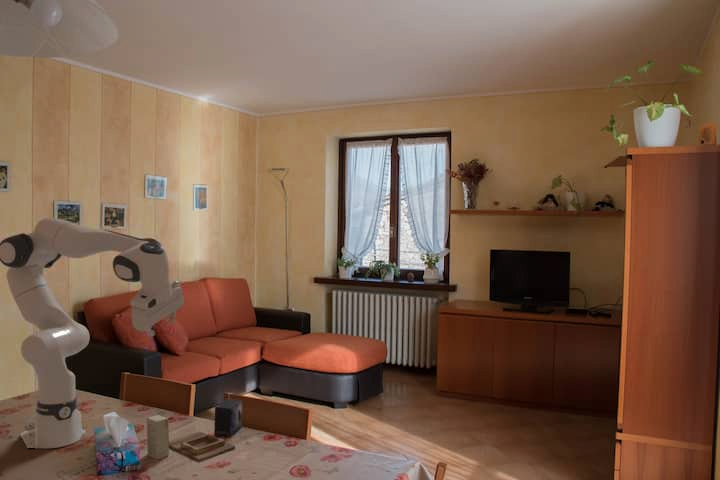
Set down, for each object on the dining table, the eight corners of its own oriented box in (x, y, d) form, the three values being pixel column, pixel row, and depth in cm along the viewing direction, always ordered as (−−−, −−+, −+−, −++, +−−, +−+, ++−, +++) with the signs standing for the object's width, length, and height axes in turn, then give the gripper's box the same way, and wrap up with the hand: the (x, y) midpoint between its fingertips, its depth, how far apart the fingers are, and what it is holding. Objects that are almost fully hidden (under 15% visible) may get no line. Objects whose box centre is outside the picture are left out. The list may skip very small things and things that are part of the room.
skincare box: (169, 456, 186) (169, 418, 186) (157, 460, 183) (157, 421, 182) (158, 450, 190) (158, 413, 190) (146, 454, 187) (146, 417, 186)
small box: (230, 438, 202) (231, 408, 202) (213, 436, 203) (213, 406, 203) (242, 427, 212) (243, 399, 212) (226, 425, 214) (226, 397, 213)
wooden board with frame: (164, 445, 195) (164, 438, 195) (199, 433, 206) (199, 427, 206) (199, 461, 182) (199, 454, 182) (235, 448, 193) (235, 441, 193)
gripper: (171, 276, 196) (175, 312, 201) (126, 303, 178) (131, 341, 184) (186, 280, 193) (190, 316, 199) (141, 308, 176) (147, 346, 182)
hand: (161, 328), depth 191 cm, fingers open, 8 cm apart
